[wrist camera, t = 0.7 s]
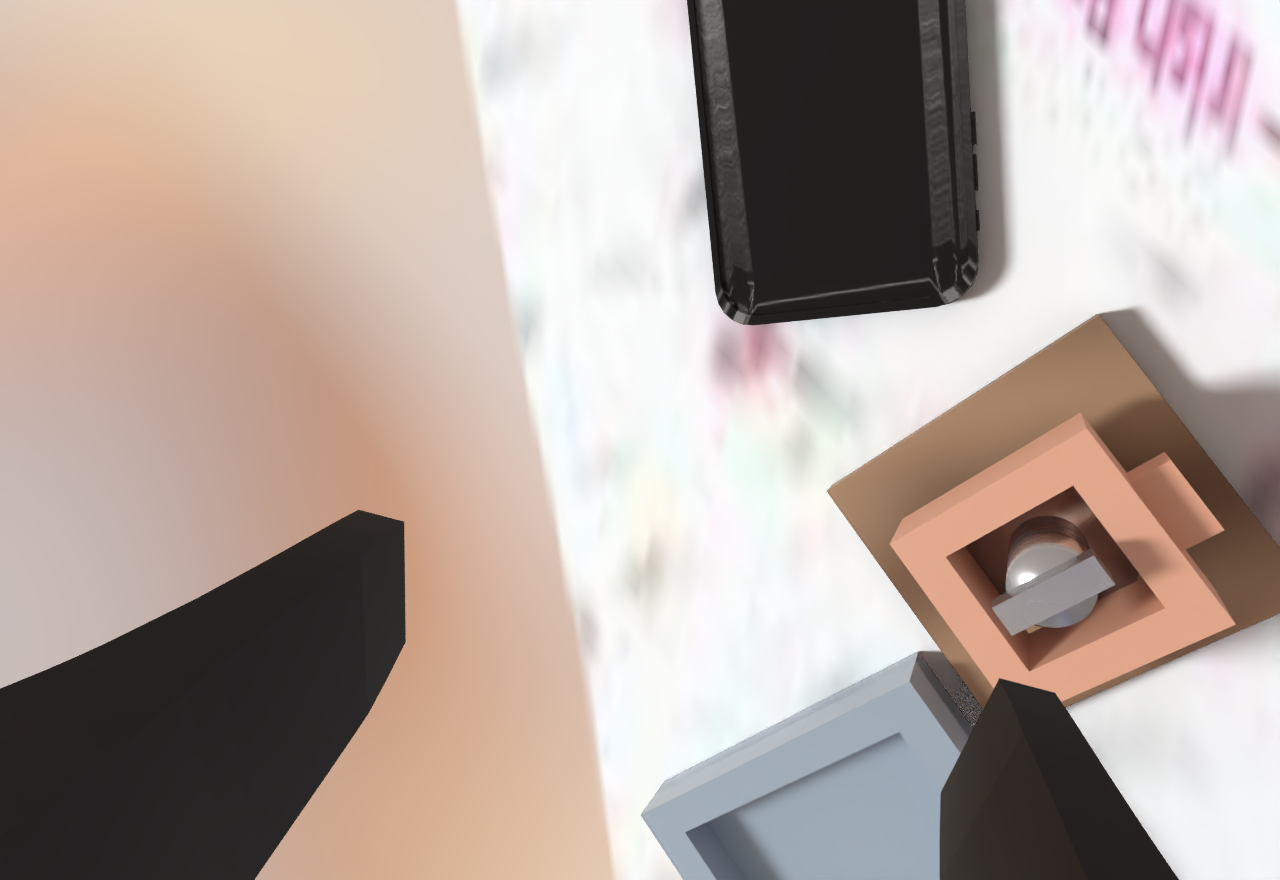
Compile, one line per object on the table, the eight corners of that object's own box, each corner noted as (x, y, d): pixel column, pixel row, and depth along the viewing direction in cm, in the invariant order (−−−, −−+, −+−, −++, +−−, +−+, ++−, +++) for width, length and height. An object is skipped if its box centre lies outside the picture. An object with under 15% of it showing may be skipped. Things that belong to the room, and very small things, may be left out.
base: (1307, 586, 22) (1317, 596, 22) (1002, 722, 26) (1001, 735, 26) (1097, 314, 23) (1099, 315, 23) (832, 485, 27) (826, 491, 26)
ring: (1254, 568, 21) (1281, 604, 19) (1018, 679, 24) (1017, 721, 22) (1117, 390, 22) (1127, 404, 19) (902, 518, 24) (889, 543, 22)
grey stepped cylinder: (1172, 565, 23) (1205, 633, 19) (1024, 637, 25) (1023, 714, 21) (1071, 433, 23) (1081, 470, 19) (934, 514, 25) (914, 563, 21)
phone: (718, 328, 27) (668, -182, 25) (730, 326, 28) (682, -165, 26) (983, 302, 24) (953, -291, 21) (985, 300, 25) (956, -266, 22)
